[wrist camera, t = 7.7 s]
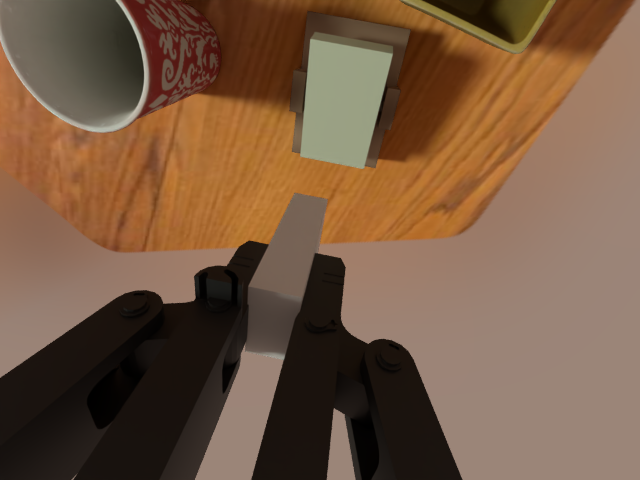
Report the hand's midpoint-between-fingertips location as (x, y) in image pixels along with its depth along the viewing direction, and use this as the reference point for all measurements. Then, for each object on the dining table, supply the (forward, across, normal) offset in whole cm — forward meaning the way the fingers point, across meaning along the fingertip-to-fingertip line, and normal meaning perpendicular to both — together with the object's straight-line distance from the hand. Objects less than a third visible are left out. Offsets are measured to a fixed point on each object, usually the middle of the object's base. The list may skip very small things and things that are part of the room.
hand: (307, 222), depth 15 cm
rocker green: (+16, 0, +3) cm, 16 cm away
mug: (+20, -17, +5) cm, 27 cm away
